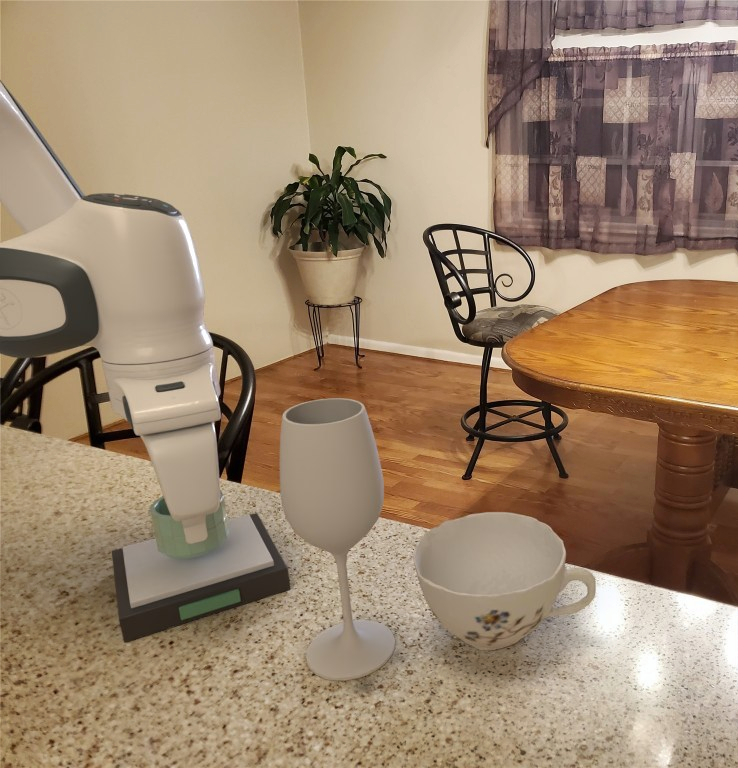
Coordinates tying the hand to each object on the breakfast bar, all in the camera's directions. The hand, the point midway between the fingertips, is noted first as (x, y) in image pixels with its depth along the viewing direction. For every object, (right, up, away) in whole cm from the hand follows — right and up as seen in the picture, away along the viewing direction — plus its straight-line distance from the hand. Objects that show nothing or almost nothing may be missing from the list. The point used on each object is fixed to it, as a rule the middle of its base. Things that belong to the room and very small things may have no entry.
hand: (190, 521), depth 65 cm
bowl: (0, -2, +1) cm, 2 cm away
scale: (0, -6, +2) cm, 6 cm away
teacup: (+30, -8, -6) cm, 32 cm away
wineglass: (+17, -9, -8) cm, 21 cm away
